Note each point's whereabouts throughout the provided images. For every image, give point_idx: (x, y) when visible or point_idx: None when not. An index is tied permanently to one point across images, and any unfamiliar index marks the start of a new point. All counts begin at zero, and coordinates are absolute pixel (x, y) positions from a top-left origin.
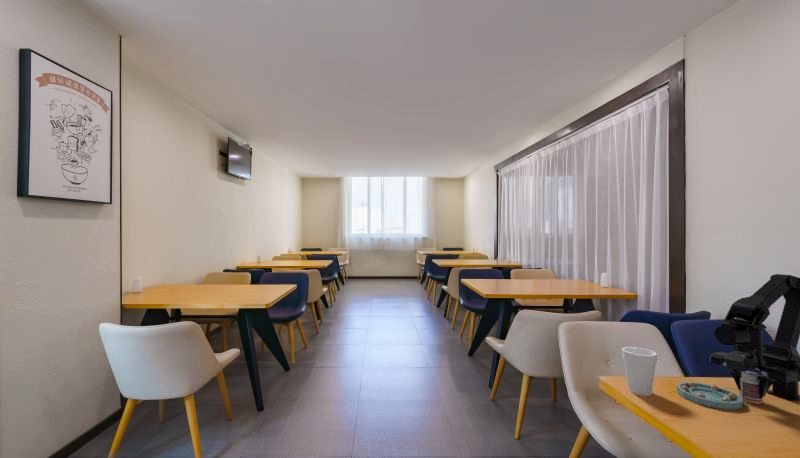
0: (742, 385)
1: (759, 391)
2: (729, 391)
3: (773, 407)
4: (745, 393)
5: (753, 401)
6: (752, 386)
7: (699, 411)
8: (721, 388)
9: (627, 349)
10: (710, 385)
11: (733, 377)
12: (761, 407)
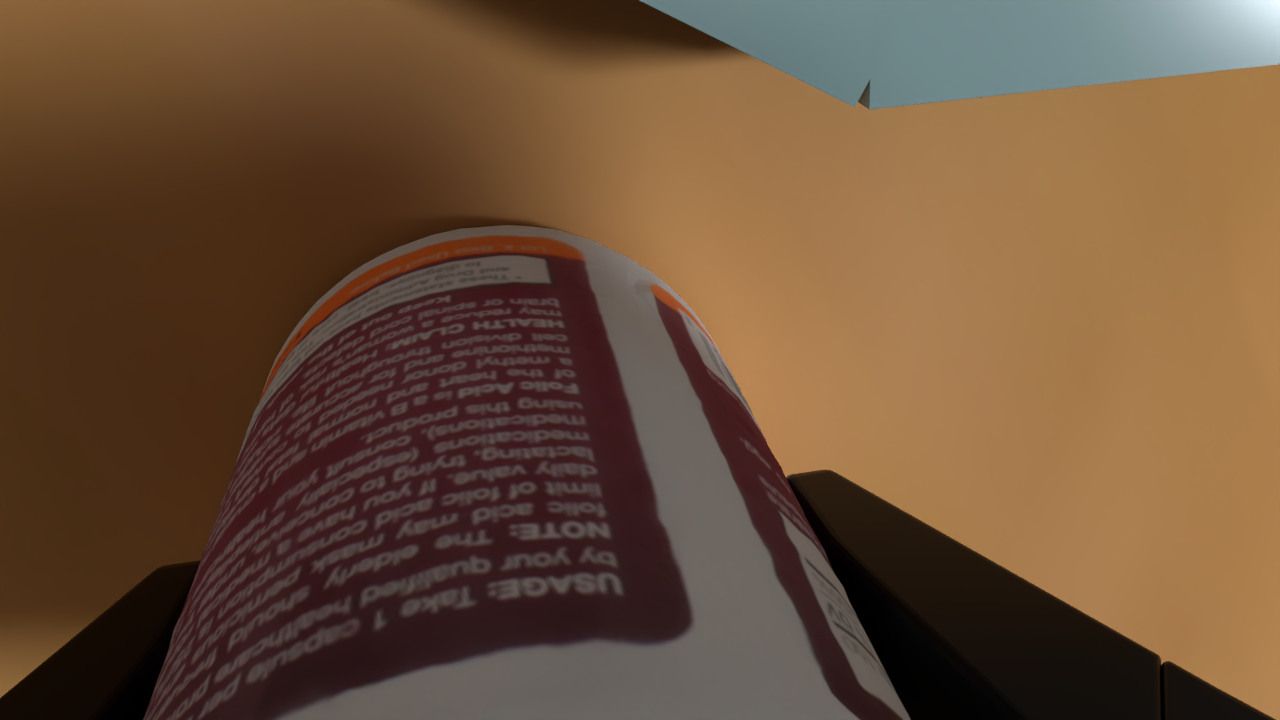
0: (653, 498)
1: (115, 693)
2: (892, 2)
3: (51, 568)
4: (495, 327)
5: (309, 315)
6: (215, 677)
7: None
8: (1188, 3)
9: None
10: None
11: (1239, 712)
12: (44, 238)
